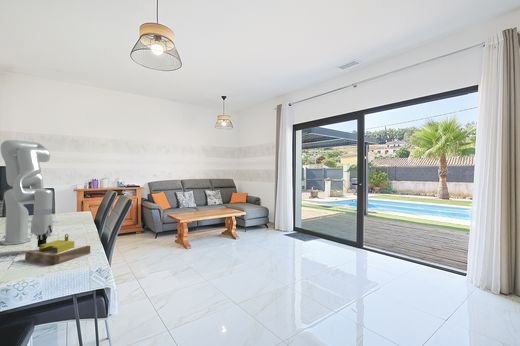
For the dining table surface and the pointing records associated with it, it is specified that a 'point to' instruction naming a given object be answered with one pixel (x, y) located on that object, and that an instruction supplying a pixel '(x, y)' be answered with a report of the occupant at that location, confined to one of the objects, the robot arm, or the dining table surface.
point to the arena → (56, 255)
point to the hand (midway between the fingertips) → (41, 246)
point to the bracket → (61, 245)
